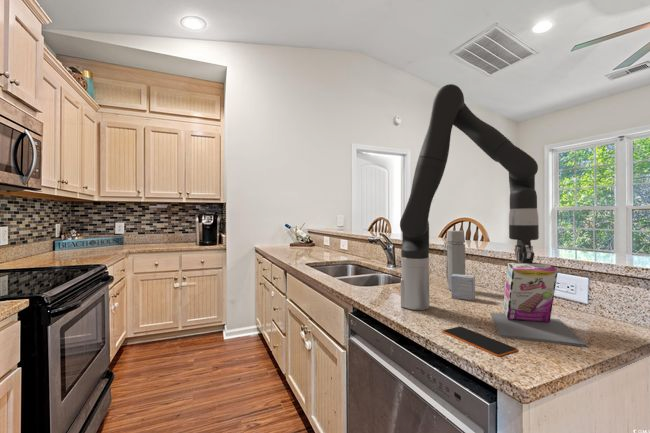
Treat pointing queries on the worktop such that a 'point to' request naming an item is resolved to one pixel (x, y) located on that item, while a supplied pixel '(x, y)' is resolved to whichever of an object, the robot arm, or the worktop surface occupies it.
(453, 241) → the water bottle
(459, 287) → the medicine box
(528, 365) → the worktop surface
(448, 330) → the smartphone
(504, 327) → the rubber mat
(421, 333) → the worktop surface
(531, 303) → the candy bar box
